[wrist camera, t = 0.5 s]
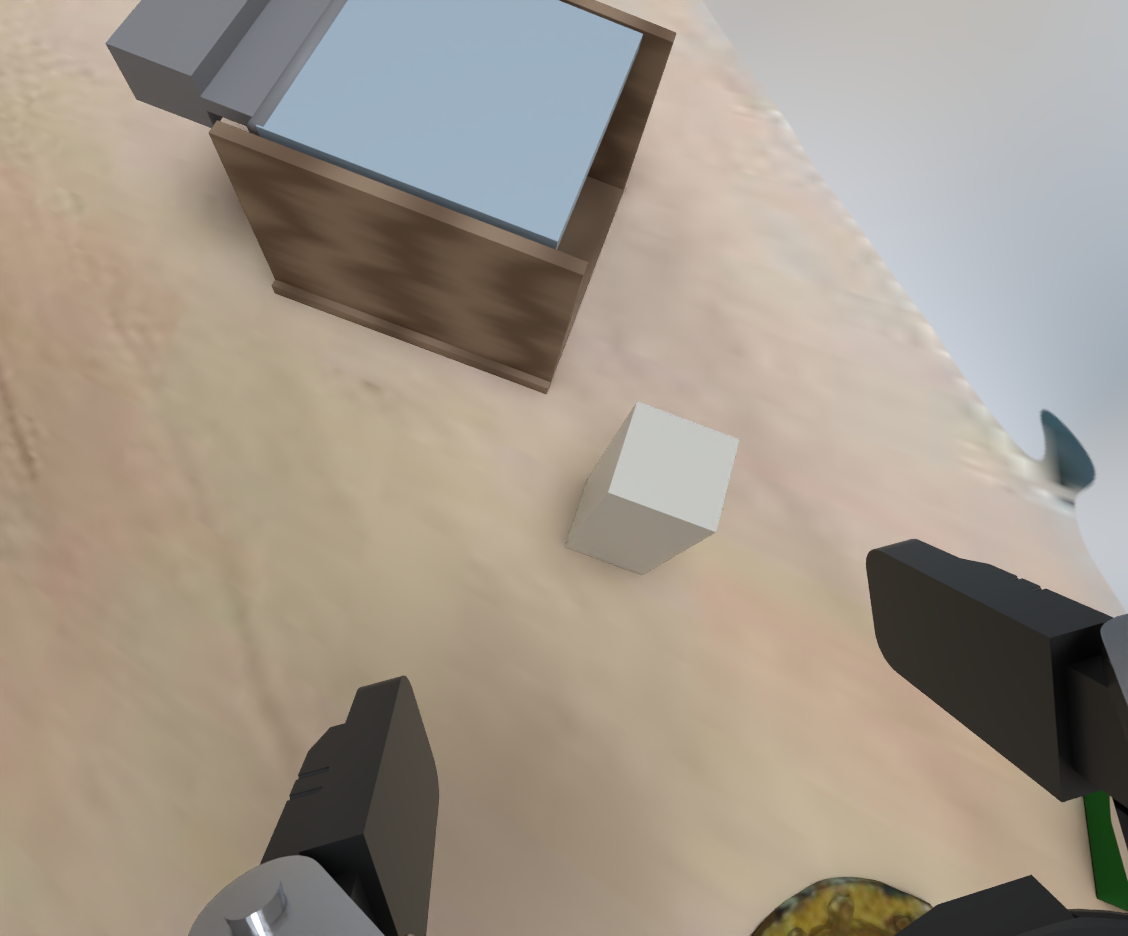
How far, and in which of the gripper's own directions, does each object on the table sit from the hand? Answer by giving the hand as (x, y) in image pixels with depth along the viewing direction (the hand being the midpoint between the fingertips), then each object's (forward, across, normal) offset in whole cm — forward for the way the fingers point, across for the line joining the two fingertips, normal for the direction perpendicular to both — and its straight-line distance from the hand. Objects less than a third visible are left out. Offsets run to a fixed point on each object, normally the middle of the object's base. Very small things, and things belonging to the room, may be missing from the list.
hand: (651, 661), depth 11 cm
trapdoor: (+29, +2, -20) cm, 35 cm away
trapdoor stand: (+38, +1, -13) cm, 40 cm away
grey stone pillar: (+28, -4, +7) cm, 29 cm away
